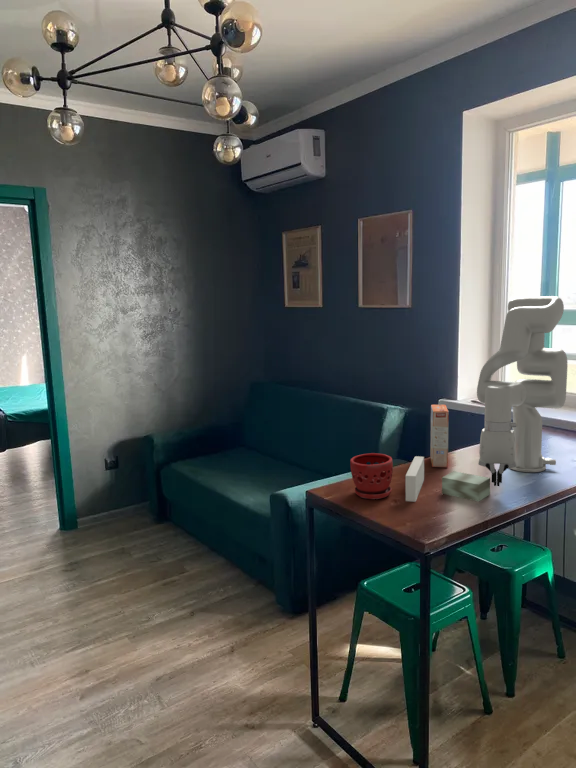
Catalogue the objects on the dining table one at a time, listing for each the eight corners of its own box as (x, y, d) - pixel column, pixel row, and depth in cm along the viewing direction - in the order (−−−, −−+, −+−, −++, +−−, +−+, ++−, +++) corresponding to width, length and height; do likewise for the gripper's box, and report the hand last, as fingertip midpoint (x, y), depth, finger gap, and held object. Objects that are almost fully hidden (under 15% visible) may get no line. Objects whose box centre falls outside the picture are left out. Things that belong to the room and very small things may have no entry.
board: (424, 479, 193) (424, 456, 192) (415, 501, 172) (415, 476, 171) (415, 479, 194) (415, 456, 193) (405, 500, 173) (405, 475, 172)
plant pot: (367, 485, 189) (366, 450, 187) (401, 493, 180) (400, 456, 178) (342, 496, 180) (341, 459, 178) (377, 505, 171) (376, 466, 169)
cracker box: (449, 468, 205) (449, 411, 202) (431, 467, 206) (431, 411, 203) (446, 457, 218) (446, 403, 215) (430, 457, 219) (430, 403, 216)
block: (489, 495, 177) (490, 477, 176) (478, 502, 171) (478, 484, 170) (453, 487, 185) (454, 471, 184) (442, 494, 179) (442, 477, 178)
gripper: (523, 424, 172) (522, 482, 175) (472, 422, 177) (471, 479, 180) (525, 430, 165) (523, 490, 168) (471, 427, 170) (470, 486, 173)
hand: (496, 484), depth 174 cm, fingers closed
